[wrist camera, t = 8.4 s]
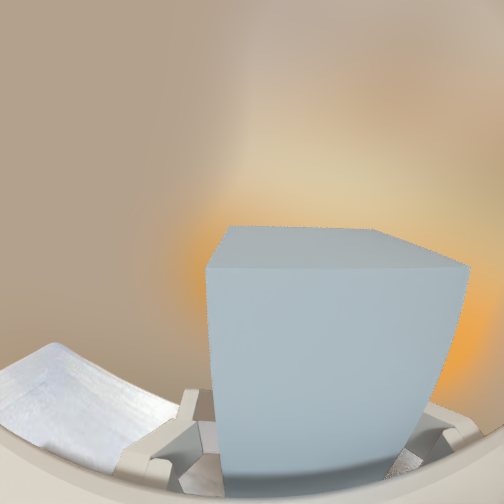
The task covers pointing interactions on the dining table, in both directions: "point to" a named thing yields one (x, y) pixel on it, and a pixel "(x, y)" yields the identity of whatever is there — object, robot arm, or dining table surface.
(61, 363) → the dining table surface
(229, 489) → the grey block
